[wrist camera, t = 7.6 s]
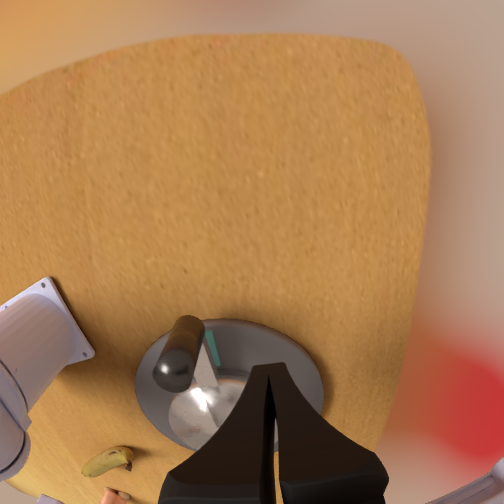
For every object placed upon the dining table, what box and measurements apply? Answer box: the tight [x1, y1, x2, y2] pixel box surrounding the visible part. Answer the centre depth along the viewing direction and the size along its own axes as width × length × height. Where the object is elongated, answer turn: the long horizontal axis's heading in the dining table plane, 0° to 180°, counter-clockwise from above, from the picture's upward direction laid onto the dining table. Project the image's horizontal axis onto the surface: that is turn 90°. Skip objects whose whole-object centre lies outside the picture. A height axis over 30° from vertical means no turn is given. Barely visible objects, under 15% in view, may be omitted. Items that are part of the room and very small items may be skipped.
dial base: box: [135, 319, 324, 452], centre depth 23 cm, size 16×16×1 cm
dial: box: [152, 315, 278, 450], centre depth 18 cm, size 14×9×6 cm, turn 12°
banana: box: [82, 446, 134, 477], centre depth 25 cm, size 10×2×4 cm, turn 124°
